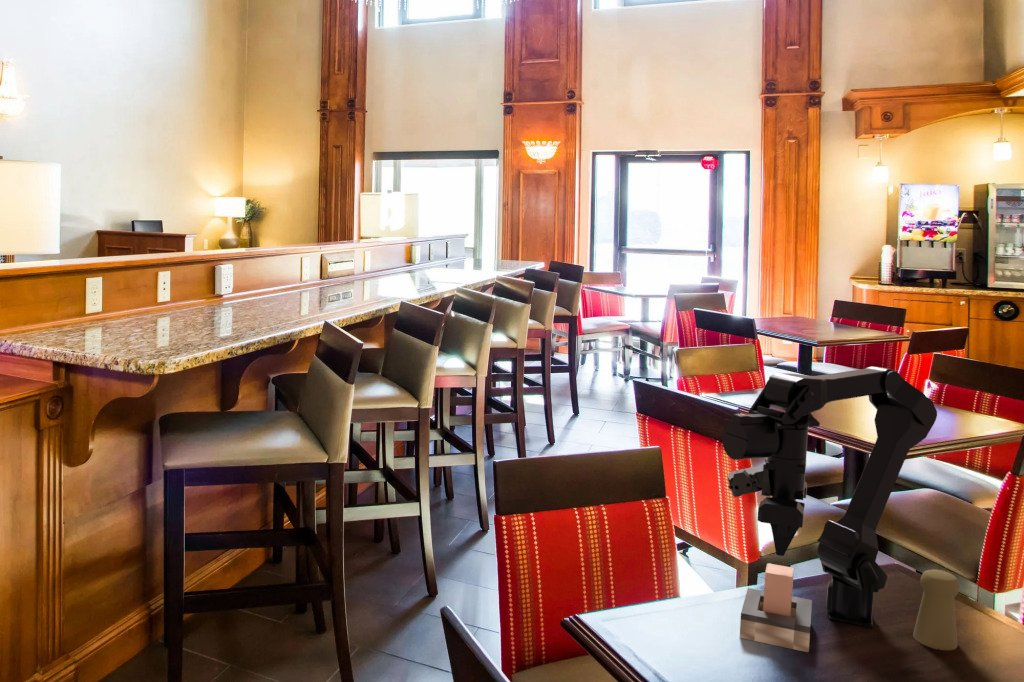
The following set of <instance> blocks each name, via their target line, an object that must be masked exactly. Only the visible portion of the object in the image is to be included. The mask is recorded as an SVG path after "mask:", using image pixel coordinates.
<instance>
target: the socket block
mask: <svg viewBox="0 0 1024 682" xmlns="http://www.w3.org/2000/svg"><path fill="white" fill-rule="evenodd" d="M763 603H764V590H762V589H761V590H760V589H756V588H750V587H747V590H746V594H745V596H744V601H743V604H742V608H741V611H740V622H739V623H740V625H739V638H740V639H745V640H748V641H749V640H750V641H753V642H754V641H755V642H759V643H762V644H767V645H772V646H776V647H781V648H787V649H791V650H795V651H799V652H804V653H805V652H806V653H809V651H810V641H811V639H810V638H811V637H810V636H811V625H812V624H811V621H812V609H813V606H812V605H813V600H812V599H809V598H802V597H799V596H793V595H792V603H791V617H789V616H784V615H779V614H774V613H769V612H764V611H763Z"/></svg>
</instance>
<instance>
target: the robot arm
mask: <svg viewBox="0 0 1024 682" xmlns="http://www.w3.org/2000/svg"><path fill="white" fill-rule="evenodd" d="M866 396H867V397H868V400H869V402H870V403H871V405H872V406H873V407H874V408H875V410H876V412H875V417H874V426H875V431H876V436H877V438H876V440H875V443H874V445H873V447H872V450H871V452H870V455H869V457H868V460H867V461H866V464H865V465H864V466H865V467H864V468H863V471H862V473H861V476H860V479H859V481H858V483H857V485H856V487H855V490H854V492H853V494H852V496H851V500H850V502H849V504H848V506H847V509H846V511H845V513H844V514H843V516H842V517H840V518H839V519H838V520H836V521H832V520H831V519H828V520H826V523H824V527H823V530H822V533H821V535H820V536H819V538H818V539H817V542H818V546H817V550H816V553H817V555H818V557H819V561H820V563H821V567H822V571H823V572H824V573H826V574H829V575H830V576H831V580H829V581H828V582H827V592H826V607H825V609H826V611H828V618H829V619H830V620H834V621H839V622H844V623H850V624H853V625H854V624H855V625H860V626H864V627H869V628H871V627H873V626H874V622H873V608H874V593H879V591H880V590H882V589H884V588H885V585H886V583H887V581H888V575H887V574H886V572H885V571H884V570H883V569H882V567H881V566H880V565H879V564H878V563H877V561H876V560H877V557H878V553H879V549H880V547H879V541H878V538H877V537H878V536H877V531H876V530H877V527H878V525H879V522H880V519H881V517H882V515H883V512H884V510H885V508H886V506H887V503H888V501H889V498H890V497H891V494H892V491H893V488H894V487H895V485H896V482H897V479H898V477H899V475H900V472H901V470H902V468H903V465H904V463H905V461H906V458H907V456H908V453H909V451H910V450H911V449H912V448H913V447H915V446H917V445H918V444H920V443H921V442H922V441H924V440H925V439H926V438H927V436H928V434H929V433H930V431H931V430H932V428H933V426H934V424H935V422H936V420H937V417H938V410H937V408H936V406H935V404H934V402H933V400H932V399H931V398H929V397H927V396H926V395H925V393H924V392H922V391H921V390H919V389H918V388H917V387H915V386H914V385H913V384H911V383H910V382H908V381H906V380H905V379H904V378H903V376H902V375H901V374H900V373H899V372H898V371H896V370H895V369H892V368H887V367H882V366H881V367H880V366H875V365H874V366H873V365H871V366H869V367H865V368H863V369H862V368H861V369H853V370H849V371H847V370H846V371H839V372H834V373H827V374H826V373H825V374H819V375H805V374H796V373H787V372H785V373H784V372H777V373H774V374H771V375H770V376H769V378H768V380H767V382H766V383H765V386H764V387H763V388H762V390H761V391H760V393H759V394H758V396H757V398H756V399H755V401H754V402H753V404H752V405H751V407H750V408H749V410H748V414H742V413H734V414H733V415H732V418H731V421H730V422H729V423H728V424H727V425H726V426H725V428H724V431H723V432H722V434H721V441H722V447H723V449H724V451H725V454H726V456H728V457H729V458H730V459H731V460H734V461H735V460H736V461H740V460H751V459H763V458H765V459H764V461H765V462H763V465H758V466H756V465H755V466H751V467H747V468H741V469H738V470H732V471H730V472H729V473H728V476H727V481H728V489H729V490H730V491H731V494H732V497H733V498H737V497H738V498H739V497H742V496H743V495H747V494H753V493H758V492H761V495H760V496H766V497H765V498H764V499H762V500H761V501H760V502H759V505H758V508H757V522H760V523H764V524H769V525H770V528H771V532H772V533H771V534H772V537H773V544H774V550H775V554H776V555H777V556H780V557H784V556H785V554H786V552H787V550H788V549H789V548H790V547H789V546H790V545H791V543H792V541H793V539H794V538H795V536H796V534H797V532H798V530H799V529H801V528H803V525H804V514H805V505H806V503H804V502H801V501H804V499H807V491H808V483H807V482H806V470H807V469H806V468H807V452H808V436H809V428H816V427H817V428H818V427H820V425H821V423H820V421H818V420H817V418H815V417H814V415H812V413H814V412H817V411H820V410H822V409H824V407H825V405H826V404H828V403H832V402H837V401H842V400H848V399H854V398H855V399H856V398H860V397H861V398H862V397H866ZM797 500H799V501H797Z"/></svg>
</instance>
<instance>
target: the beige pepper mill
mask: <svg viewBox="0 0 1024 682" xmlns="http://www.w3.org/2000/svg"><path fill="white" fill-rule="evenodd" d="M919 582H920V586H921V588H922V590H923V594H922V596H921V597H922V598H921V601H920V605H919V609H918V614H917V617H916V621H915V625H914V630H913V634H912V635H913V636H912V637H913V638H914V640H916V641H917V643H919V644H921V645H924V646H926V647H928V648H931V649H933V650H938V649H939V650H940V651H954V650H956V649H957V647H958V646H959V645H958V635H957V634H958V633H957V620H956V617H957V616H956V605H955V604H956V603H955V597H956V596H957V595H958V593H959V591H960V582H959V580H958V579H957V577H956V576H955V575H954V574H952V573H950V572H948V571H946V570H945V571H944V570H940V569H927V570H925V571H924V572H922V574H921V577H920V581H919ZM939 650H938V651H939Z"/></svg>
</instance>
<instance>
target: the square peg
mask: <svg viewBox="0 0 1024 682" xmlns="http://www.w3.org/2000/svg"><path fill="white" fill-rule="evenodd" d="M794 569H795V568H794V567H791V566H785V565H781V564H780V565H779V564H773V563H767V564H766V567H765V572H764V573H765V575H764V590H763V591H764V603H763V611H764V612H769V613H774V614H779V615H784V616H789V617H791V603H792V596H793V584H794V571H795V570H794Z"/></svg>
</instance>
